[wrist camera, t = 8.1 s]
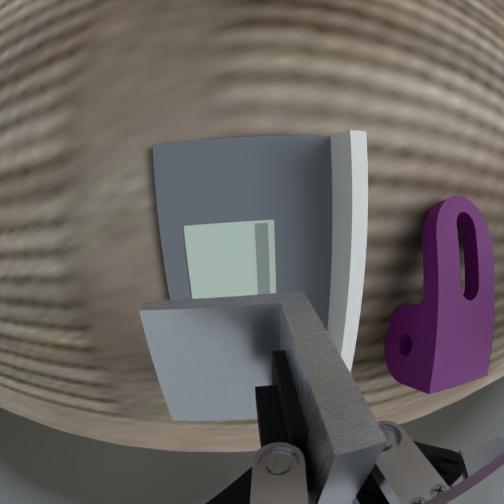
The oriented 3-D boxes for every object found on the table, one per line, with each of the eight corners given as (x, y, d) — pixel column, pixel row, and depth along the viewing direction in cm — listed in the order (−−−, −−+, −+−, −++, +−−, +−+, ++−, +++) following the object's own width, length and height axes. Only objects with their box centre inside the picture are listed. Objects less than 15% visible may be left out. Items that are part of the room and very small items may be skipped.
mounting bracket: (385, 213, 29) (380, 375, 26) (430, 187, 21) (428, 394, 18) (441, 224, 30) (439, 365, 27) (487, 205, 22) (487, 375, 18)
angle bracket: (303, 290, 10) (387, 441, 4) (298, 401, 12) (333, 526, 5) (144, 300, 10) (65, 448, 3) (174, 408, 12) (155, 534, 5)
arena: (154, 146, 20) (135, 140, 16) (341, 137, 21) (365, 131, 16) (184, 362, 26) (178, 394, 21) (334, 349, 26) (349, 378, 22)
